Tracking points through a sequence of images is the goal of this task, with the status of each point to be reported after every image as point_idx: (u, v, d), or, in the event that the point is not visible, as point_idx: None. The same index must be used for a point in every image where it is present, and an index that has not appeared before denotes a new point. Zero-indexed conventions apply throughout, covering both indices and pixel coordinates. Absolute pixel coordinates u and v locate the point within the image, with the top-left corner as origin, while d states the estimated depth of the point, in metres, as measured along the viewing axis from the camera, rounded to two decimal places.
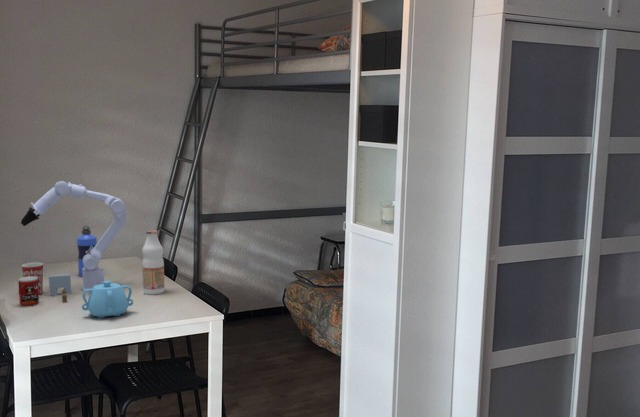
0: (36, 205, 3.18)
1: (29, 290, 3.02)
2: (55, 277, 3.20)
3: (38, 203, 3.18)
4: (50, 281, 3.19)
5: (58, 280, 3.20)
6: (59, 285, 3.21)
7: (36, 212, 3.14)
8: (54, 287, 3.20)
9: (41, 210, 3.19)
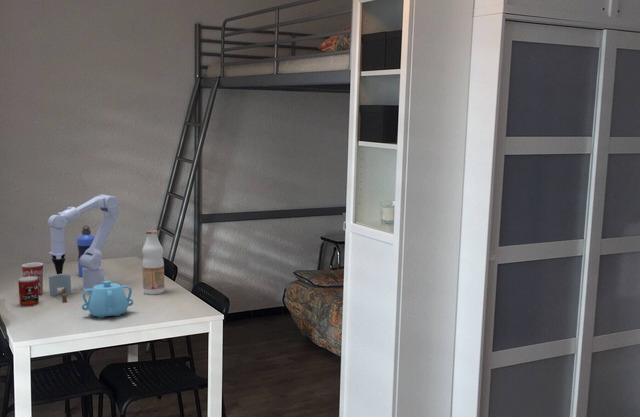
0: (53, 251, 3.17)
1: (29, 290, 3.02)
2: (55, 277, 3.20)
3: (53, 248, 3.17)
4: (50, 281, 3.19)
5: (58, 280, 3.20)
6: (59, 285, 3.21)
7: (58, 257, 3.13)
8: (54, 287, 3.20)
9: (60, 251, 3.18)
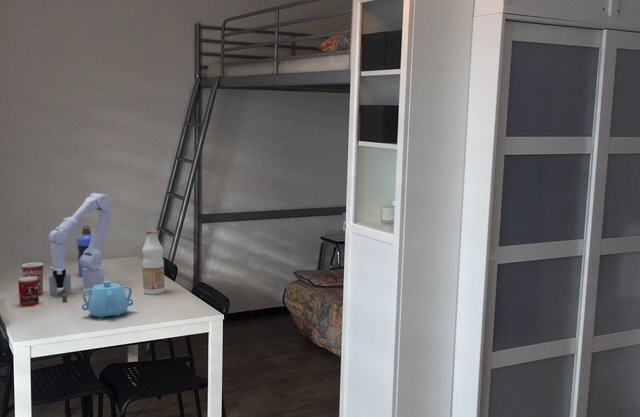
0: (54, 266, 3.18)
1: (29, 290, 3.02)
2: None
3: (54, 264, 3.18)
4: (50, 281, 3.19)
5: None
6: None
7: (59, 272, 3.14)
8: (54, 287, 3.20)
9: (61, 266, 3.19)
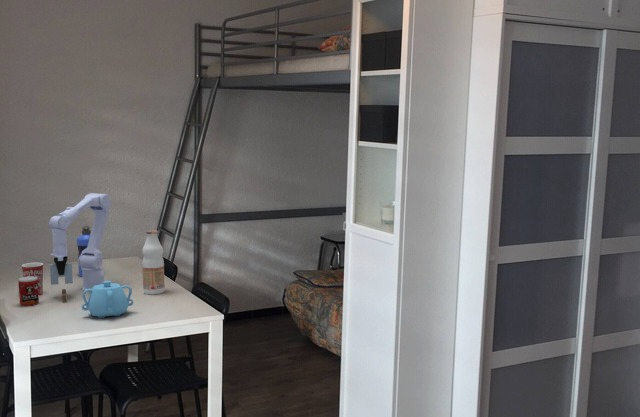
0: (55, 253, 3.12)
1: (29, 290, 3.02)
2: (56, 266, 3.13)
3: (55, 250, 3.12)
4: (51, 270, 3.13)
5: None
6: None
7: (60, 258, 3.08)
8: (55, 276, 3.14)
9: (63, 253, 3.12)
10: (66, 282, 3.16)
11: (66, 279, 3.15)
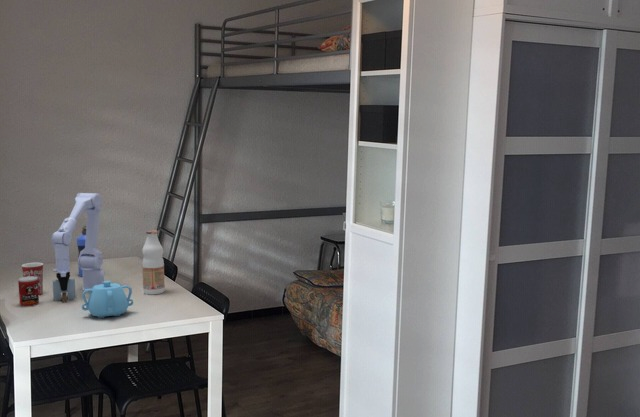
0: (58, 268, 3.09)
1: (29, 290, 3.02)
2: None
3: (58, 266, 3.09)
4: (54, 286, 3.10)
5: None
6: None
7: (63, 274, 3.05)
8: (58, 292, 3.11)
9: (65, 268, 3.10)
10: (69, 298, 3.13)
11: (69, 295, 3.13)
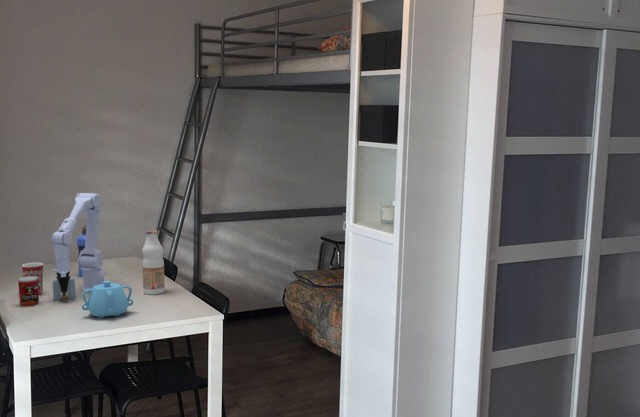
0: (58, 269, 3.09)
1: (29, 290, 3.02)
2: None
3: (58, 266, 3.09)
4: (54, 286, 3.10)
5: None
6: None
7: (63, 275, 3.05)
8: (58, 292, 3.11)
9: (65, 268, 3.10)
10: (69, 298, 3.13)
11: (69, 295, 3.13)
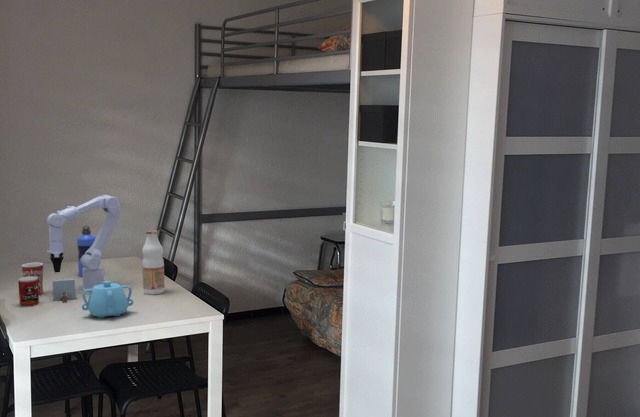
0: (52, 249, 3.19)
1: (29, 290, 3.02)
2: (59, 282, 3.11)
3: (51, 247, 3.19)
4: (54, 286, 3.10)
5: (62, 285, 3.11)
6: (63, 290, 3.12)
7: (56, 255, 3.15)
8: (58, 292, 3.11)
9: (59, 249, 3.19)
10: (69, 298, 3.13)
11: (69, 295, 3.13)
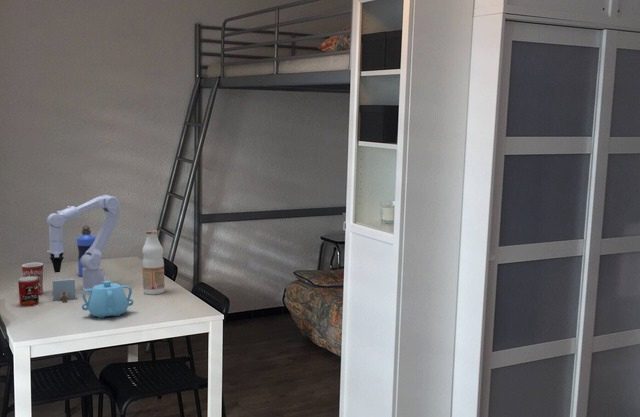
0: (52, 249, 3.19)
1: (29, 290, 3.02)
2: (59, 282, 3.11)
3: (51, 247, 3.19)
4: (54, 286, 3.10)
5: (62, 285, 3.11)
6: (63, 290, 3.12)
7: (56, 255, 3.15)
8: (58, 292, 3.11)
9: (59, 249, 3.19)
10: (69, 298, 3.13)
11: (69, 295, 3.13)
